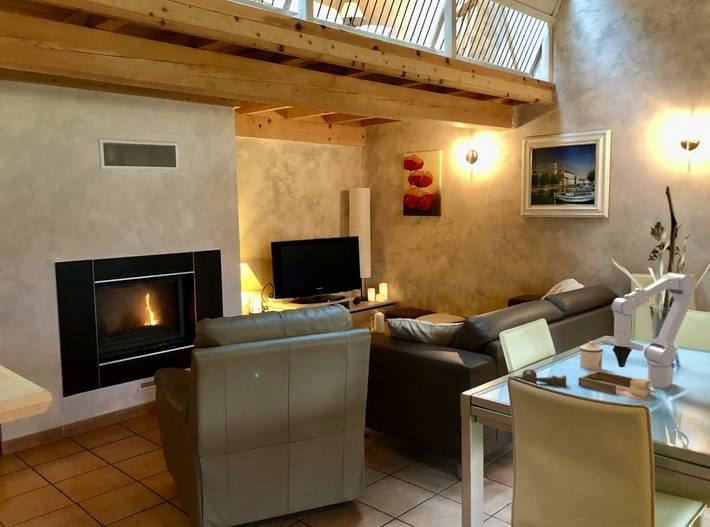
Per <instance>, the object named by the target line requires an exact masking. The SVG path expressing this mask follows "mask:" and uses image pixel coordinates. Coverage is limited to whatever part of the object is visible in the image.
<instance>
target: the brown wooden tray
mask: <svg viewBox="0 0 710 527" xmlns="http://www.w3.org/2000/svg"><path fill="white" fill-rule="evenodd" d="M632 379H634V378H633V377H630V376H625V375H621V374H614V373H611V372H606V371H602V370H595V371H593V372H590V373H587V374H585V375H581V376H580V377H578V386H579V387H583V388H588V389H591V390H596V391H600V392H605V393H609V394H613V395H617V396H622V397H625V398H630V399H634V400H637V401H641V400H643V399H644V398H646V397H648V396H651V395H653V394H655V393H657V392H658V390H653V389H651V394H649V395H647V396H645V397H643V396H639V395H635V394H630V382H631V380H632Z"/></svg>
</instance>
